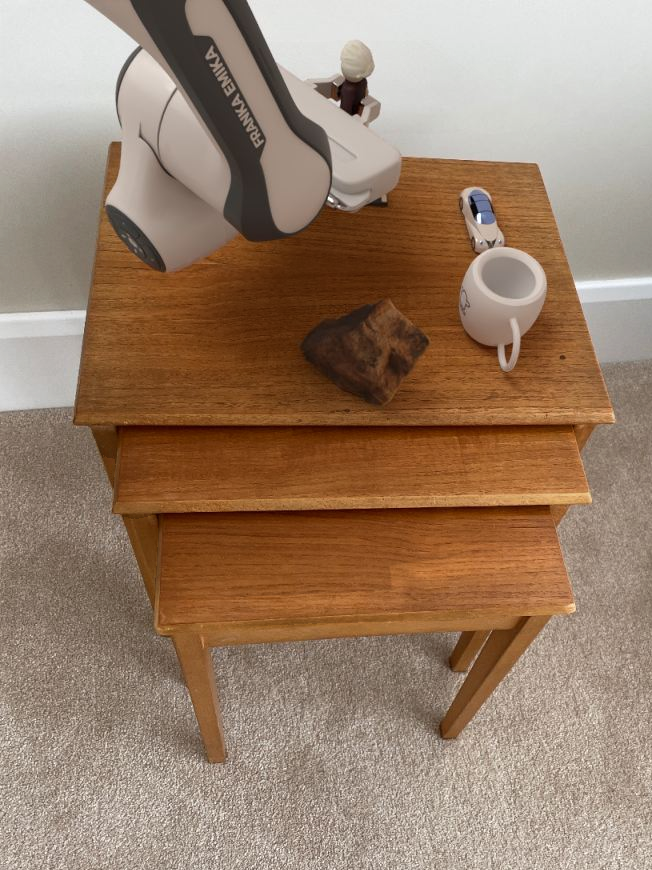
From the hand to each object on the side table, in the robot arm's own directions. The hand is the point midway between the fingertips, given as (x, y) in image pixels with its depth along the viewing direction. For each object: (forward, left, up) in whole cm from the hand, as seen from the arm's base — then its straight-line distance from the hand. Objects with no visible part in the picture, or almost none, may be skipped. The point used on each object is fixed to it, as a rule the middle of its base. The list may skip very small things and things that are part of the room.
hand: (359, 93), depth 79 cm
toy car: (+15, +6, -12) cm, 20 cm away
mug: (+25, -5, -12) cm, 28 cm away
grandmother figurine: (0, -1, -7) cm, 7 cm away
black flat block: (0, -1, -12) cm, 12 cm away
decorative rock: (+18, -19, -12) cm, 29 cm away
